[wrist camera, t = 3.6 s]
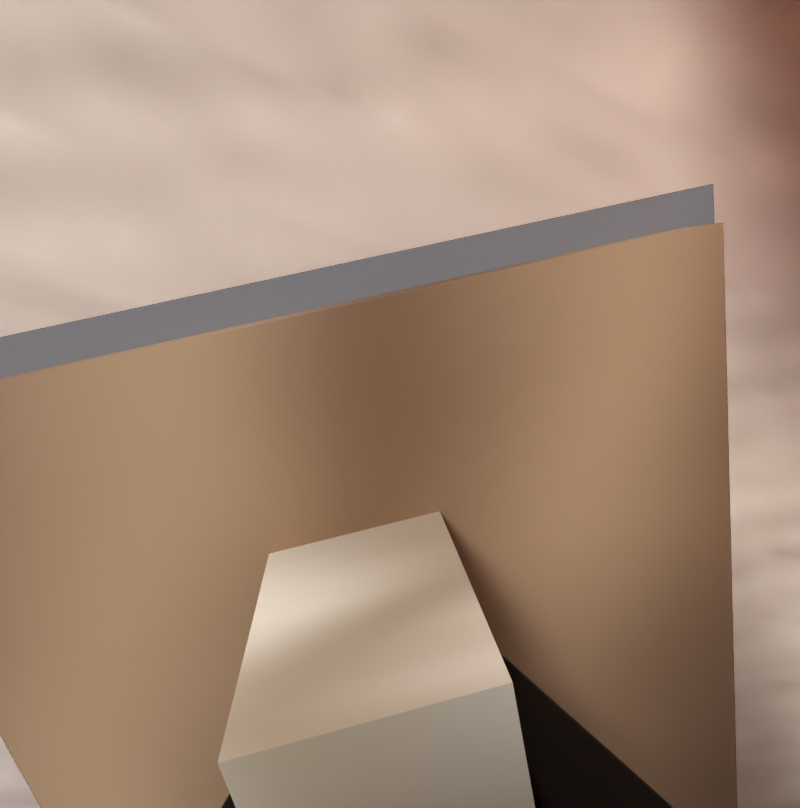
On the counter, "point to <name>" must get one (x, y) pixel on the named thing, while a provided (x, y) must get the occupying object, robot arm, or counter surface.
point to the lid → (380, 544)
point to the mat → (352, 281)
